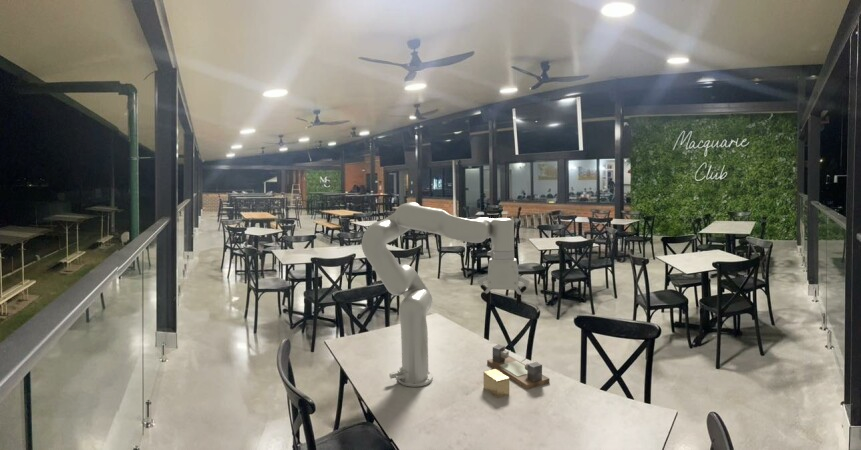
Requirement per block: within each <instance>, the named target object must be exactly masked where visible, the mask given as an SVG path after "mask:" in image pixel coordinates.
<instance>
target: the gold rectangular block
mask: <svg viewBox="0 0 861 450" xmlns="http://www.w3.org/2000/svg"><path fill="white" fill-rule="evenodd" d="M483 389H484V390H486V392H488V393H490V394H491V395H492V396H494V397H495V398H497V399H498V398H502V397H505V396H509V395H510V378H509V377H507V376H506V375H504V374H503V373H501V372H500V371H498V370H496V369H495V368H493V369H490V370H485V371H483Z"/></svg>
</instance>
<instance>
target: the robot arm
mask: <svg viewBox="0 0 861 450" xmlns="http://www.w3.org/2000/svg"><path fill="white" fill-rule="evenodd" d="M410 230H415V231H419V232H426V233H431V234H436V235H439V236H441V237H445V238H448V239H452V240H455V241H456V240H457V241H461V242H465V243H466V242H467V243H471V244H472V243H473V244H479V243H483V242H485V241H486V240H487V239H489V238H490V240H491V250H489V251H487V253H486V255H487V256H489V257H490V258H489V260H488V266H487V275H485V276H482V277H480V278H479V279H478V280H477V283H478V285H479V286H480V287H479V288H480V289H481V290H483V292H484V294H485V301H486V303H487V306H491V304H492V292H491V290H503V291H505V290H506V291H507V290H508V291H515V292H516V306H517V307H520V304H522V295H523V293H524V292H525V291H526V290H527V288H528V286H529V284H530V280H529V279H528V278H527V279H526V278H525V277H523V276H521V275H519V267H518V261H517V258H515V223H514V220H513V219H512V218H509V217H498V218H497V217H496V218H493V217H492V218H491V217H490V218H489V217H483V216H482V217H480V216H479V217H476V218H474V219H470V218H464V217H459V216H455V215H452V214H450V213H449V212H447V211H446V210H444V209H441V208H435V207H428V206H422V205H420V204H419V203H418V202H413V201H409V202H405V203H402V204H400V205H399V206H398V207H397V208H396V209H395V212H393V213H391V214H390V215H389V216H387V217H386V218H384V219H382V220H378V221H376V222H373V223H372V224H370V225H369V226H368V227H367V228H366V230H365V231H364V233H363V236H362V239H361V250H362V252H363V254H364V256H365V258H366V260H367V261H368V263H369V264H370V265H371V267H372V268H373V270H374V272H375V273H376V275H377V277H378V278H379V279H380V280H381V282H382V284H383V285H384V287H385V288H386V290H387V292H388V293H389V294H391V295H392V296H403V297H404V298H403V299H402V300H401V302H400V304H399V308H398V316H399V324H400V335H401V336H400V341H401V343H400V344H401V366H400V367H399V369H398V370H397V371H395V372H390V373H389V379H391V380H392V379H395V380H396V381H398V383H400V384H401V385H403V386H405V387H410V388H417V387H419V388H420V387H423V386H427V385H429V384H430V383H432V381H433V379H434V378H433V377H434V376H433V373H432V372H430V371H429V337H428V335H429V334H428V324H427V323H428V322H427V313H428V312H429V311H430V310H431V308H432V306H433V297H432V293H431V292H430V290H429V289H428V287H427V286H426V284H425V283H424V281H423V280H422V278H421V277H420V275H419V274H418V272H417V271H416V270H415V269H414V268H413V267H412V266H410V265H409V264H405V263H403V264H402V263H401V264H400V263H399V262H398V260H397V259H396V257H395V256H394V254H393V253H392V252H391V251H390V250H389V249H388V248H387V244H388V243H391V242H392V241H395V240H396V239H397V238H399V237H401V236H402V235H404V234H405V233H407V232H408V231H410ZM486 281H487V286H486V285H485V284H484V282H486ZM521 282H522V283H523V285H522V286H521V287H520V286H519V284H520V283H521Z"/></svg>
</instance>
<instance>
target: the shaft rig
mask: <svg viewBox="0 0 861 450" xmlns="http://www.w3.org/2000/svg"><path fill="white" fill-rule="evenodd" d="M509 351H510V350H506V346H505V345H501V344H497V345H494V346H492V358H491V359H487V360H486V361H487V362H486V364H487V365H488V366H490V367H492V368H493V369H496V370H498V371H500V372H501V373H503V374H504V375H506V376H507V377H509V380H510V379H511V380H512V381H513V382H515V383H517V384H518V385H520V386H521V387H523V388H525V389H526V390H529V389H533V388H536V387H540V386H542V385H547V384H549V383H550V377H548V376H546V375H544V374H543V364H541V363H539V362H537V361H535V362H532V363H525V364H524V363H523V362H521V361H520V360H518V359H516V358H514V357H513V356H511V355H510V352H509Z"/></svg>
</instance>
